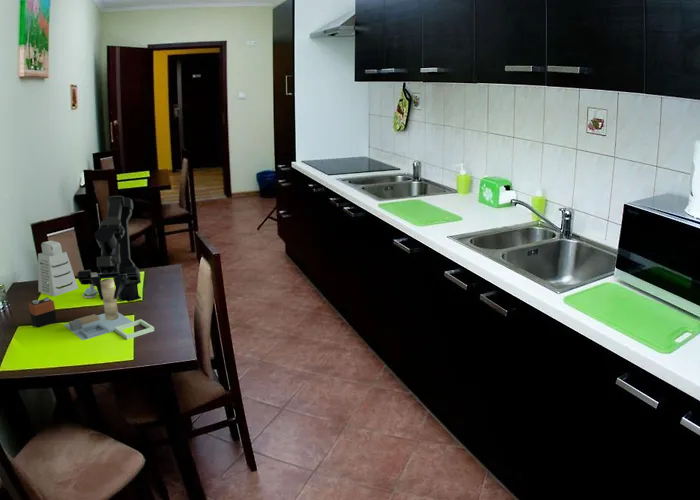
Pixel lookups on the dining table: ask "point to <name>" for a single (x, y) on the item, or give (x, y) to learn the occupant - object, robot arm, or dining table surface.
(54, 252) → the grater
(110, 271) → the robot arm
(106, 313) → the dowel
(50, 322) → the battery
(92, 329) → the board
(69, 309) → the dining table surface
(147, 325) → the tray
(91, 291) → the pacifier
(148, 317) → the dining table surface
